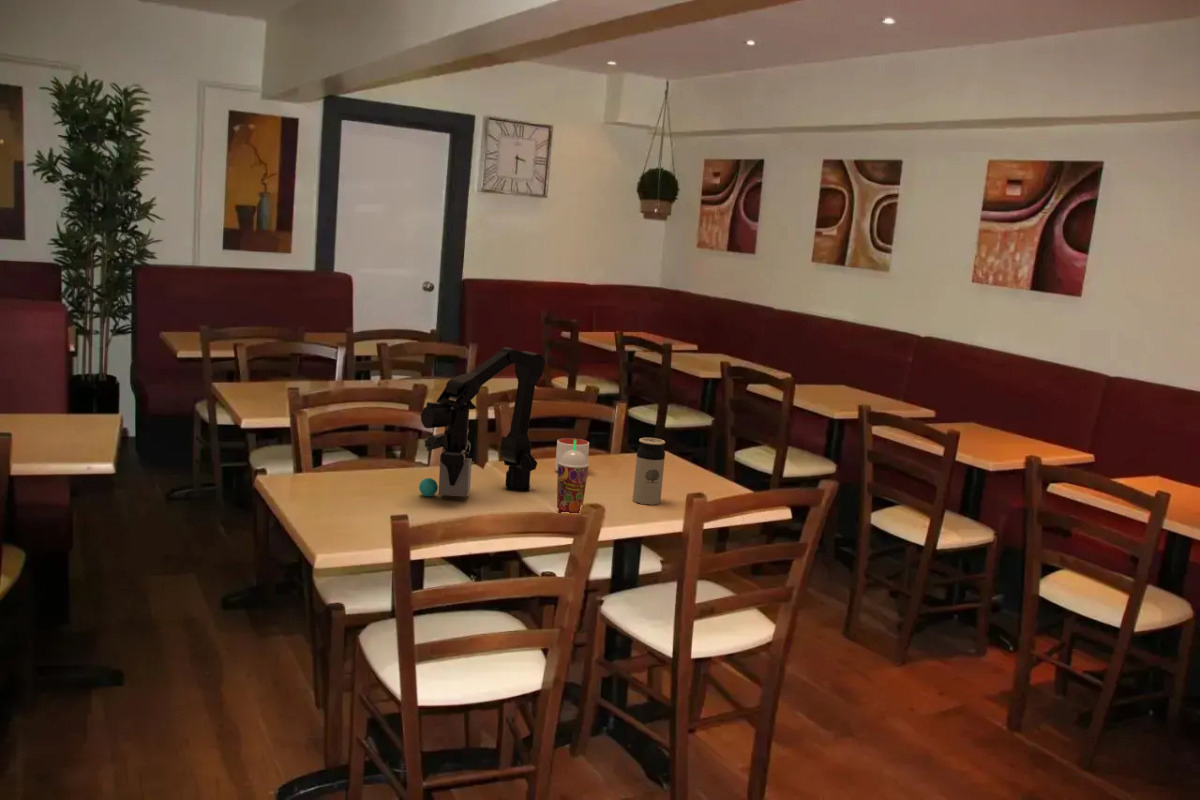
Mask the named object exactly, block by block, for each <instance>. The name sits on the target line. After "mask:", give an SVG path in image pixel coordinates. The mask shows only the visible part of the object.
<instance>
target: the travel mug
mask: <svg viewBox="0 0 1200 800" xmlns="http://www.w3.org/2000/svg"><path fill="white" fill-rule="evenodd" d="M638 442H639V446H638V448H637V450H636V459H635V471H634V472H635V473H634V481H633V491H632V500H633V501H634V502H635V503H637V502H638V503H637V504H639V503H642V504H641V505H644V504H656V505H659V504H660V503H661V499H662V489H663V479H664V478H663V477H664V469H665V468H664V467H665V458H666V452H665V449H664V446H665V444H666V441H665V440H663V439H661V438H655V437H642V438H641V437H640V438H639V440H638Z"/></svg>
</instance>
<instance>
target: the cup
mask: <svg viewBox="0 0 1200 800" xmlns="http://www.w3.org/2000/svg"><path fill="white" fill-rule="evenodd" d="M574 440H576V450H578V451H580V452H582V453H583V454H584V455H585V457H586V459H587V462H588V463H589V450H590V442H589V441H587V440H584V439H580V438H573V437H572V438H571V437H570V438H569V437H565V438H559V439H557V441H556V443H557V444H556V454H555V465H554V466H555V467H554V468H555V470H557V471H558V461H559V460H560V458H561V456H562V455H563V454H564V453H565V452H566V451H569V450H573V446H574ZM557 471H556V472H557Z"/></svg>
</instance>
